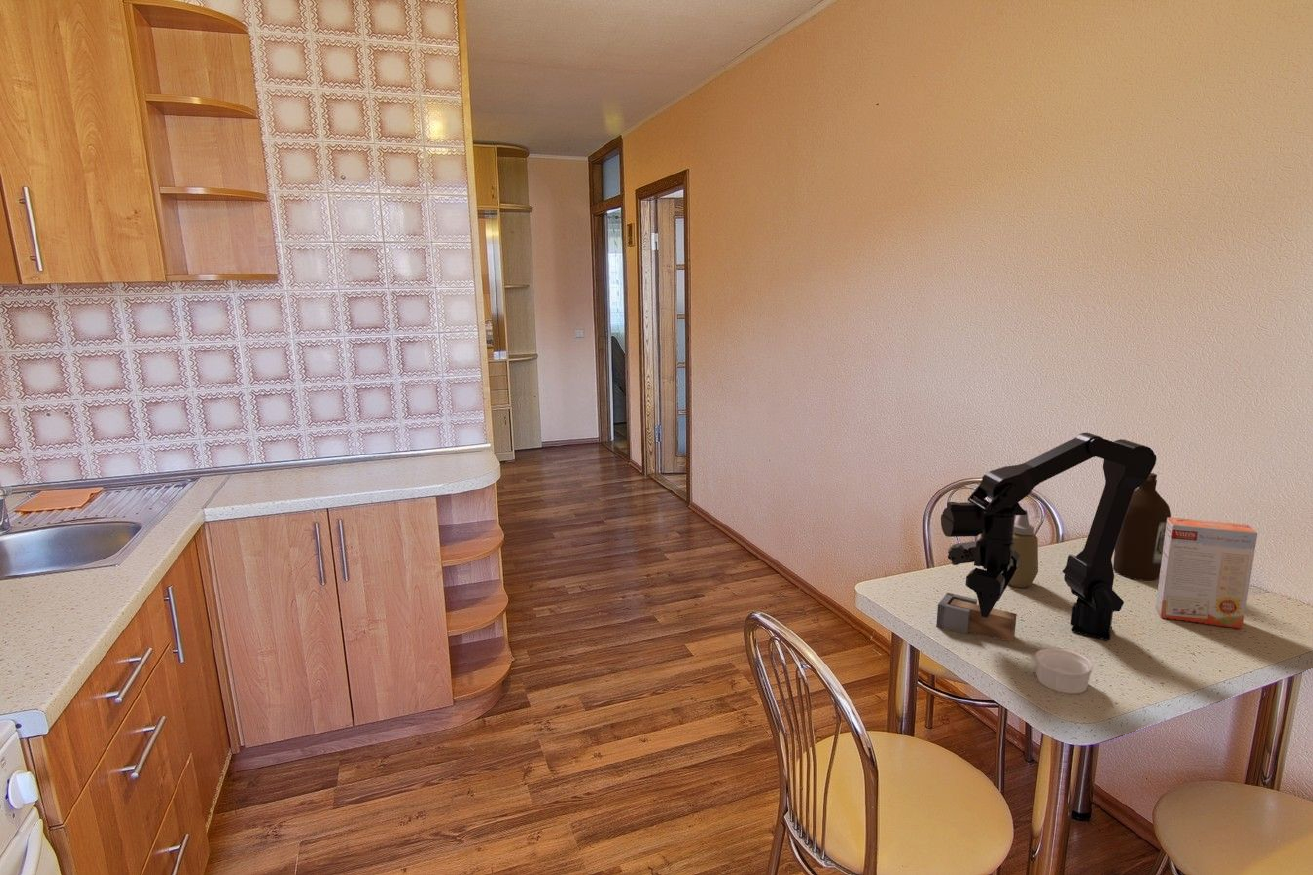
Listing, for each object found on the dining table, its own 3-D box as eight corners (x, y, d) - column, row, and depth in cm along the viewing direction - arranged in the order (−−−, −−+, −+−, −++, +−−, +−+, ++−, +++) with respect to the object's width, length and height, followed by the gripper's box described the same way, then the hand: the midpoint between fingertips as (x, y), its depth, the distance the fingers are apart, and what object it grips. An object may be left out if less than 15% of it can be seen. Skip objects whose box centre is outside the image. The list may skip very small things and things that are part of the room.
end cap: (975, 621, 148) (977, 599, 147) (966, 634, 143) (968, 611, 142) (945, 614, 152) (947, 592, 151) (936, 626, 146) (937, 604, 145)
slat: (1014, 636, 142) (1016, 613, 141) (1011, 642, 140) (1013, 619, 139) (952, 620, 149) (953, 598, 148) (948, 626, 147) (950, 604, 146)
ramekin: (1066, 701, 120) (1069, 678, 119) (1021, 675, 128) (1024, 654, 127) (1101, 689, 123) (1104, 666, 122) (1055, 665, 131) (1058, 643, 130)
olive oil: (1104, 573, 172) (1117, 474, 167) (1116, 561, 179) (1128, 465, 174) (1156, 585, 165) (1171, 482, 160) (1166, 572, 172) (1181, 473, 167)
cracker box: (1233, 618, 148) (1249, 523, 144) (1242, 630, 143) (1259, 532, 139) (1153, 606, 154) (1166, 515, 150) (1159, 618, 149) (1173, 523, 144)
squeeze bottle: (1038, 580, 168) (1045, 508, 165) (1034, 592, 162) (1042, 518, 158) (1000, 573, 173) (1007, 503, 169) (996, 585, 166) (1002, 512, 162)
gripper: (966, 515, 151) (960, 583, 155) (940, 540, 137) (935, 614, 140) (1023, 525, 145) (1016, 596, 148) (1003, 552, 130) (996, 630, 133)
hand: (990, 608), depth 142 cm, fingers open, 9 cm apart
